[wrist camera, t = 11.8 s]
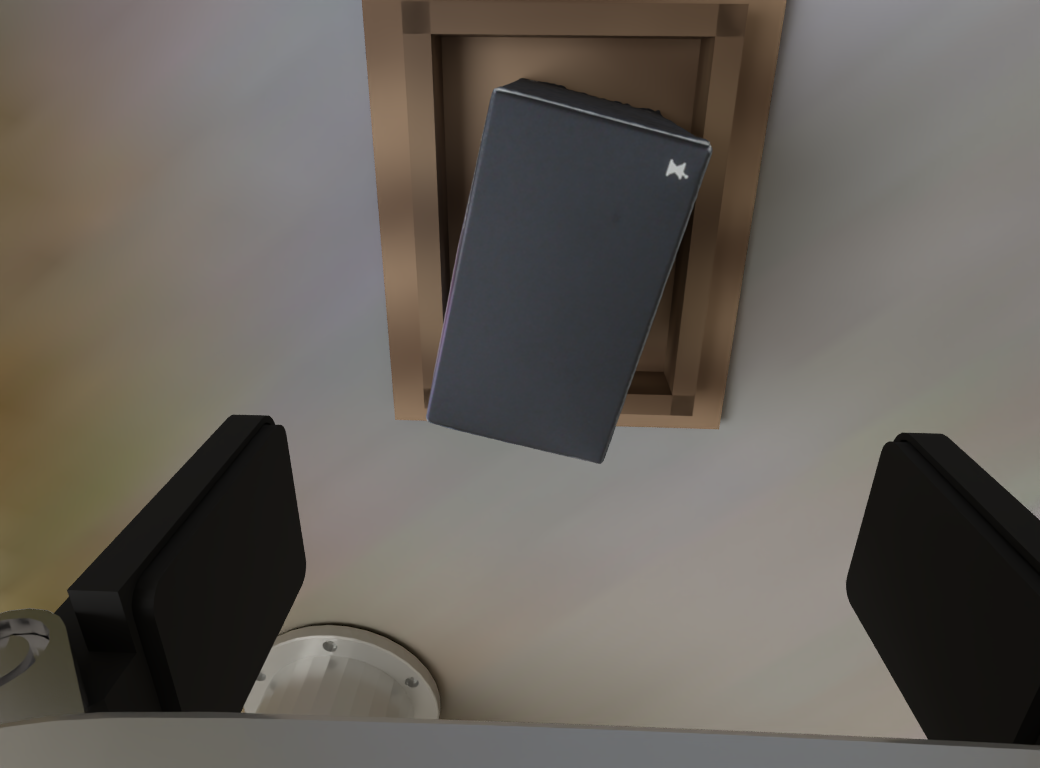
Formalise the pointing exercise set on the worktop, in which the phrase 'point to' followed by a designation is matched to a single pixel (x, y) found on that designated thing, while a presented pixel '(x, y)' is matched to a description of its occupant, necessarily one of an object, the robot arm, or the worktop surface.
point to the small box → (561, 266)
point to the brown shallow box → (597, 72)
